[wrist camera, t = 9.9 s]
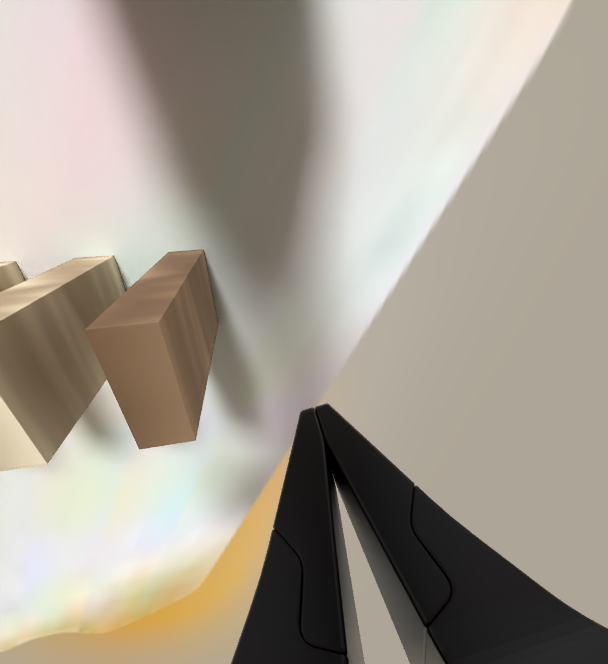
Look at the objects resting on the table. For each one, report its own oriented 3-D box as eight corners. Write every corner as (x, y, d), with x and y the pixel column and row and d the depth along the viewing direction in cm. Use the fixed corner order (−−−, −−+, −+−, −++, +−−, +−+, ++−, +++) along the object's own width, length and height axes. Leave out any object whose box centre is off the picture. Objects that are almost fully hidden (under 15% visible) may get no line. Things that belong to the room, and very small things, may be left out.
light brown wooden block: (113, 255, 16) (-37, 342, 8) (139, 332, 19) (47, 464, 10) (75, 257, 16) (-127, 350, 7) (106, 335, 18) (-18, 473, 10)
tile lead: (203, 249, 17) (158, 322, 8) (218, 323, 19) (195, 440, 11) (168, 252, 17) (84, 329, 8) (187, 327, 19) (139, 449, 10)
